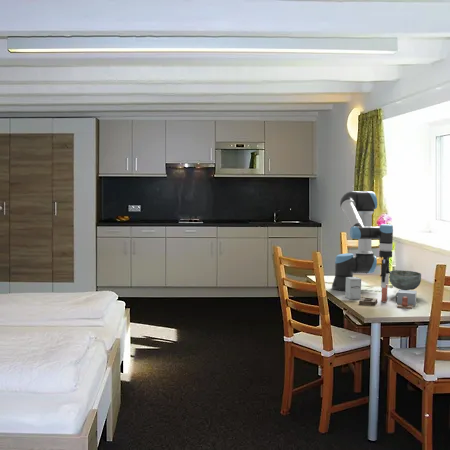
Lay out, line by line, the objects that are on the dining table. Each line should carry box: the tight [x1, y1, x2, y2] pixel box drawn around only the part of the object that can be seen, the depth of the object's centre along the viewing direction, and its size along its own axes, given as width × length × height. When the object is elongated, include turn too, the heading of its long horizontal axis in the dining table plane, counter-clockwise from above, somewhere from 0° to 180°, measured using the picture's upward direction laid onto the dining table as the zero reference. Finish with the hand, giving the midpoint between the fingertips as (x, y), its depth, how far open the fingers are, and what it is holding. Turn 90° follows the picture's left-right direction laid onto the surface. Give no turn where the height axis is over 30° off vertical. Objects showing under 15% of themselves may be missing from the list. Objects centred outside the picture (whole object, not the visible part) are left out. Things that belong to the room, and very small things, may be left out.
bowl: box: [389, 269, 422, 297], centre depth 393 cm, size 20×19×15 cm
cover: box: [396, 289, 417, 307], centre depth 371 cm, size 10×10×7 cm
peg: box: [381, 284, 388, 303], centre depth 376 cm, size 3×3×10 cm
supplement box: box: [344, 276, 362, 300], centre depth 385 cm, size 7×7×13 cm
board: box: [396, 297, 414, 310], centre depth 361 cm, size 8×8×6 cm
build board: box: [358, 296, 378, 307], centre depth 370 cm, size 11×9×2 cm
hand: (384, 286), depth 375 cm, fingers open, 13 cm apart
